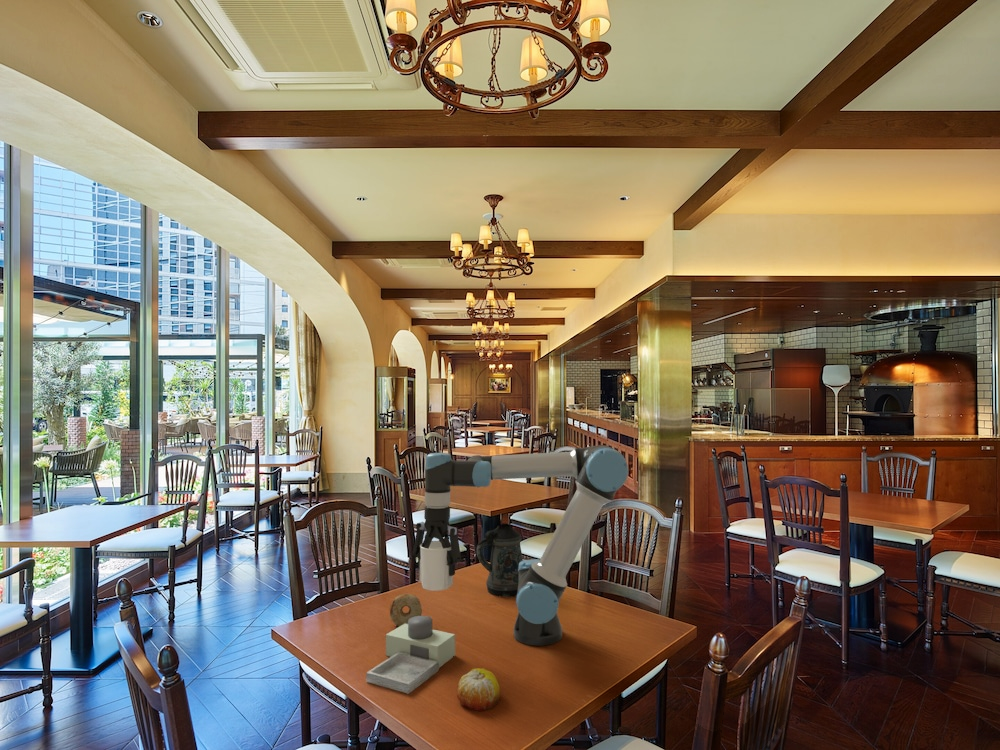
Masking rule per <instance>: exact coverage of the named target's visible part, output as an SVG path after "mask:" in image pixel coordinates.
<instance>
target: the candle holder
mask: <svg viewBox="0 0 1000 750" xmlns="http://www.w3.org/2000/svg"><path fill="white" fill-rule="evenodd" d="M422 544H423V543H422ZM422 544H421V545H420V554H421V581H422V582H421V588H422V589H424V590H426V591H433V592H435V591H437V592H438V591H440V592H441V591H445V590H447V589H449V588H450V587H448V588H445V572H446V564H448V562H447V550H448V551H450V550H451V547H449V548H445V549H443V547H442V544H441V542H439V540H432V541H431V544H430V546H429V548H428V549H427V548H423V547H422Z"/></svg>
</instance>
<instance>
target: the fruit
mask: <svg viewBox="0 0 1000 750" xmlns="http://www.w3.org/2000/svg"><path fill="white" fill-rule="evenodd" d="M500 689H501V688H500V684H499V682H498V679H497V677H496V676H495V675H494V673H493V672H491V671H490V670H487V669H486V668H483V667H482V668H479V667H478V668H473V669H471V670H470V671H469V672H467V673H465V674H463V675H462V676H461V677H460V679H459V681H458V684H457V691H456V697H457V699H458V701H459V703H460V704H461V705H462V706H463V707H467V708H468V709H469V710H475V711H484V710H490V709H492V708H493V707H494V706H496V705H497V704H498V703H499V699H500V695H501V694H500V693H501V692H500V691H501V690H500Z"/></svg>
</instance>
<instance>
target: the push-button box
mask: <svg viewBox="0 0 1000 750" xmlns="http://www.w3.org/2000/svg"><path fill="white" fill-rule="evenodd" d="M398 652H402V653H406V654H410V655H414V656H418V657H422V658H426V659H430V660H434V661H438V662H439V668H441V667H442V666H444V664H446V663H447V662H448V661H450V660H451V659H453V658H454V657H456V634H455V633H452V632H451V633H450V632H446V631H441V630H437V629H434V628H433V618H432V617H431V616H427V615H421V616H415V617H412V618H410V619H409V620H408V624H403V625H401V626H398V627H396V628H395V629H393V630H391V631H390V632H388V633H386V634H385V656H386V657H388V658H390V657H391V656H393V655H394V654H396V653H398ZM453 656H454V657H453Z"/></svg>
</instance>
